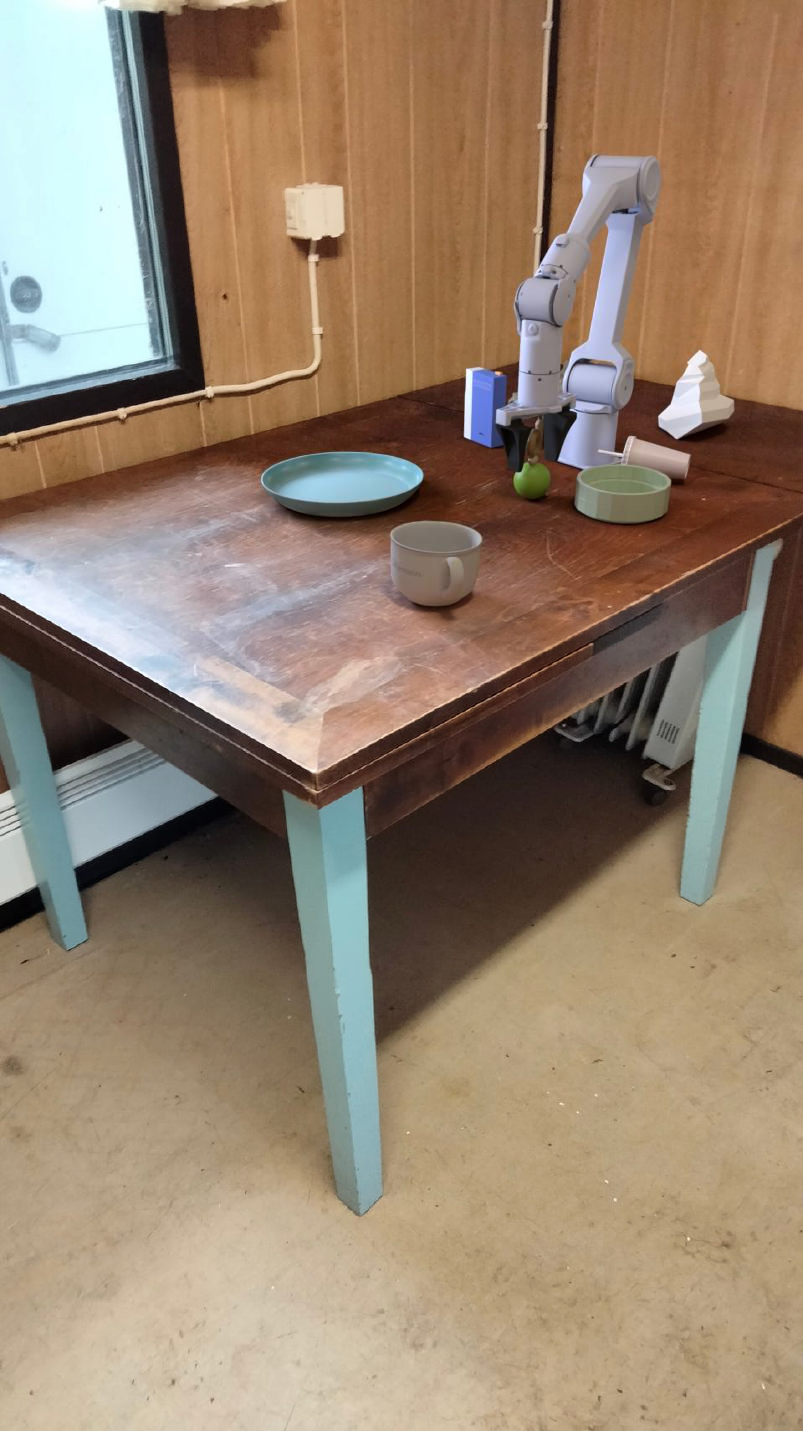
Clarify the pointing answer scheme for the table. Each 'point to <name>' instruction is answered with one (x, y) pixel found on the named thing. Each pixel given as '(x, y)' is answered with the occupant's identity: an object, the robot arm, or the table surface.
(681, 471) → the smoothie
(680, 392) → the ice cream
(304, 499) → the teal plate
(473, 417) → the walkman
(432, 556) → the teacup
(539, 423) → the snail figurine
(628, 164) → the robot arm
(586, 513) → the bowl
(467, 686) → the table surface
